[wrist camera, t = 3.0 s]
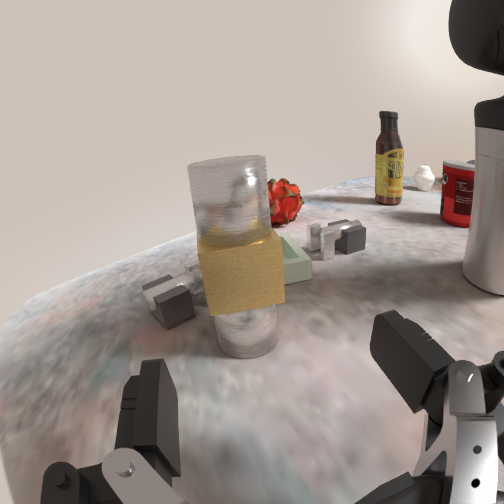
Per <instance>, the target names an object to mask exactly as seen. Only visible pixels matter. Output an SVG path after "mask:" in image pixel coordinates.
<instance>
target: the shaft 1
mask: <svg viewBox="0 0 504 504" xmlns="http://www.w3.org/2000/svg"><path fill="white" fill-rule="evenodd" d="M185 269H186V273H185V274H183V275H181V276H178V277H176V278H173V277H171V276H170V275H167V276H165V277H162V278H160V279H157V280H155V281H153V282H150V283H148V284H145V285H143V286H142V289H143V296H144V299H145V301H146V304H147V306H148V308H149V311H150V312H151V313H152V314H153V315H154V316H155V317H156V319H157V320H158V321H159V322H160V323H161V324H162V325H163V326H164V327H165V328H166V329H167V330H168V329H171V328H173V327H175V326H177V325H179V324H181V323H183V322H185V321H187V320H189V319H191V318H193V317H195V316H196V315H195V311H194V307H193V302H192V298H191V294H190V293H192V294H193V295H194V296H195V295H197V294H199V293H201V292H203V291H204V295H205V300H206V304H207V299H206V294H205V289H204V284H203V279H202V274H201V268H200V263H199V261H198V260H196V261H194V262H192V263H189V264H187V265H185ZM207 305H208V304H207Z"/></svg>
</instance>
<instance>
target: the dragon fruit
mask: <svg viewBox="0 0 504 504" xmlns="http://www.w3.org/2000/svg"><path fill="white" fill-rule="evenodd" d="M275 181H276V180H274V179H271V180H270V181H269V182H267V183H268V195H269V207H270V220H271V225H272V224H273V223H274V222H278V223H280V224H285V225H287V224H288V223H289V220H295V219H296V217H297V215H296V214H297V213H298V212H299V210H300V209H301V206H302V204H304V202H303V201H302V197H301V196H300V193H299V192H300V190H299V187H298V186H297V185H295V184H289V181H288V180H286V179H284V178H282V179H280V180H279V181H278V182H275ZM286 223H287V224H286Z"/></svg>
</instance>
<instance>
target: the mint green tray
mask: <svg viewBox="0 0 504 504" xmlns="http://www.w3.org/2000/svg"><path fill="white" fill-rule="evenodd" d="M278 236H279V237H280V238H281V239H282V245H283V262H284V281H285V284H290V283H295V282H300V281H305V280H310V279H312V259H311V258H310V257H309V256H308V255H307V254H306V252H305V251H304V250H303V249H302V248H301V247H300V246H299V245H298V244H297V243H296V242H295V241H294V239H293V238H292V237H291V236H290V235H289V234H288V233H281V234H278Z"/></svg>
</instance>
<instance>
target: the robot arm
mask: <svg viewBox="0 0 504 504" xmlns="http://www.w3.org/2000/svg"><path fill="white" fill-rule="evenodd" d="M449 36H450V41H451V44H452V47H453V49H454V51H455V53H456V55H457V56H458V57H459V58H460V59H461V60H462V61H463V62H464V63H465V64H467V65H469V66H471V67H473V68H476V69H479V70H483V71H487V72H491V73H495V74H499V75H503V76H504V0H452V3H451V7H450V12H449ZM474 117H475V126H476V127H475V177H474V191H473V202H472V211H471V219H470V227H469V233H468V239H467V245H466V251H465V256H464V261H463V266H462V271H463V274H464V275H465V277H466V278H467V279H468V280H469V281H470V282H471V283H473V284H474V285H476V286H477V287H479V288H481V289H483V290H485V291H488V292H491V293H494V294H499V295H504V96H502V97H500V98H496V99H492V100H486V101H482V102H479V103H477V104H476V106H475V109H474ZM370 351H371V355H372V357H373V359H374V360H375V361H376V363H377V364H378V365H379V367H380V368H381V369H382V371H383V372H384V373H385V375H386V376H387V377H388V379H389V380H390V381H391V383H392V384H393V385H394V387H395V388H396V389H397V391H398V392H399V393H400V395H401V396H402V397H403V399H404V400H405V402H406V403H407V404H408V406H409V407H410V408H411V410H412V411H413V413H414V414H415V413H417V412H418V411H420V410H422V409H425V410H426V411H427V412H426V414H425V419H424V429H423V438H422V446H421V453H420V457H419V460H418V462H417V465H416V467H415V469H414V472H413V476H412V477H411V475H410V474H409V472H406V473H404V474H402V475H401V476H399V477H397V478H395V479H393V480H391V481H389V482H386V483H384V484H382V485H380V486H379V487H377V488H376V489H375V490H373V491H372V492H370V493H369V494H368V495H366V496H365V497H363V498H362V499H361V500H359V501H358V502H356V503H355V504H504V492H502V491H497V468H498V456H499V458H500V459H501V461H502V462H503V464H504V406H503V405H502V403H501V400H502V399H503V397H504V351H500V352H498V353H496V354H495V356H494V358H493V360H492V362H491V363H490V364H486V365H482V366H476V365H475V364H473V363H472V362H470V361H466V360H458V361H455V360H454V359H453V358H452V357H451V356H450V355H449V354H448V353H447V352H446V351H445V350H444V349H443V348H442V347H441V346H440V345H439V344H438V343H437V342H436V341H435V340H434V339H432V337H431V336H430V335H429V334H428V333H426V332H425V330H424V329H423V328H422V327H420V326H419V325H418V324H417V323H415V322H413V321H411V320H409V319H407V318H406V319H404V318H403V317H402V316H401V315H400V314H399V313H398V312H397V311H395V310H391V311H387V312H384V313H381V314H378V315H376V317H375V319H374V325H373V331H372V336H371V341H370ZM120 408H121V411H120V414H119V421H118V428H117V435H116V443H115V448H114V450H113V451H111V452H110V453H109V454H108V455H107V456H106V457H105V458H104V460H103V462H102V463H100V464H97V465H94V466H89V467H85V468H80V469H76V468H75V467H73V466H72V465H71V464H69V463H66V462H56V463H54V464H52V465H50V466H49V467H48V468H47V470H46V471H45V474H44V477H43V485H42V493H41V503H40V504H188V503H187V502H186V501H185V500H183V499H182V498H181V497H180V496H179V495H178V494H177V493H176V492H175V491H174V490H173V489H172V477H181V470H180V454H179V430H178V399H177V393H176V389H175V386H174V383H173V381H172V378H171V376H170V373H169V371H168V368H167V366H166V363H165V361H164V359H153V360H144V361H142V364H141V370H140V375H137V376H131V377H130V379H129V380H128V382H127V383H126V385H125V386H124V390H123V395H122V401H121V407H120Z"/></svg>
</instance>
